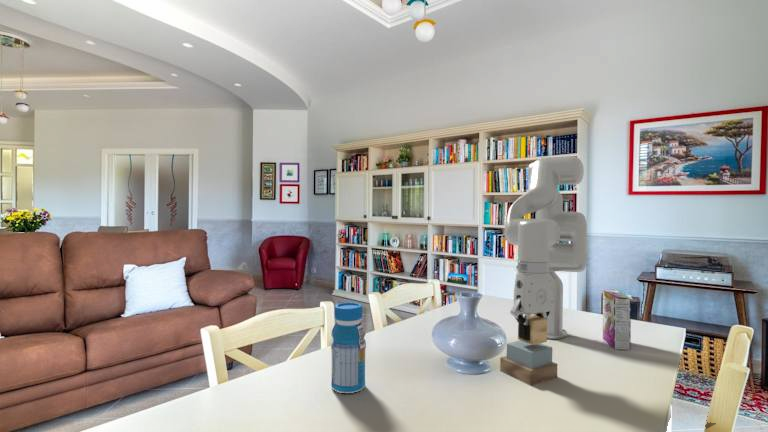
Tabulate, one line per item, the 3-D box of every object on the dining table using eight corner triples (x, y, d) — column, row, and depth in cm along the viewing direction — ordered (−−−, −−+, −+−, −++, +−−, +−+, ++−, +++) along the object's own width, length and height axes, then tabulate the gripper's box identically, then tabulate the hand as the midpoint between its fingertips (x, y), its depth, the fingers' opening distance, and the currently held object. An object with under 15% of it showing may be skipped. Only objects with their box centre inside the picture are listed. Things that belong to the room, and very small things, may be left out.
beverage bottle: (338, 398, 92) (338, 311, 92) (325, 384, 99) (326, 303, 99) (371, 390, 96) (371, 307, 95) (357, 377, 103) (357, 299, 103)
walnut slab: (500, 372, 108) (500, 357, 108) (526, 365, 113) (526, 351, 113) (530, 387, 99) (530, 371, 99) (557, 379, 104) (557, 363, 104)
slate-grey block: (506, 358, 107) (506, 343, 107) (526, 352, 111) (526, 338, 111) (531, 369, 100) (532, 353, 100) (552, 362, 105) (552, 347, 104)
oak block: (517, 339, 106) (518, 316, 106) (531, 336, 108) (531, 314, 108) (533, 345, 102) (533, 321, 102) (546, 342, 104) (547, 318, 104)
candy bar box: (601, 338, 135) (602, 289, 135) (617, 339, 134) (618, 290, 134) (613, 350, 124) (614, 297, 124) (631, 351, 123) (632, 297, 123)
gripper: (520, 272, 97) (519, 347, 98) (567, 267, 106) (566, 336, 106) (498, 268, 104) (497, 338, 104) (543, 264, 112) (542, 329, 112)
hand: (532, 336), depth 105 cm, fingers closed on oak block, 4 cm apart
